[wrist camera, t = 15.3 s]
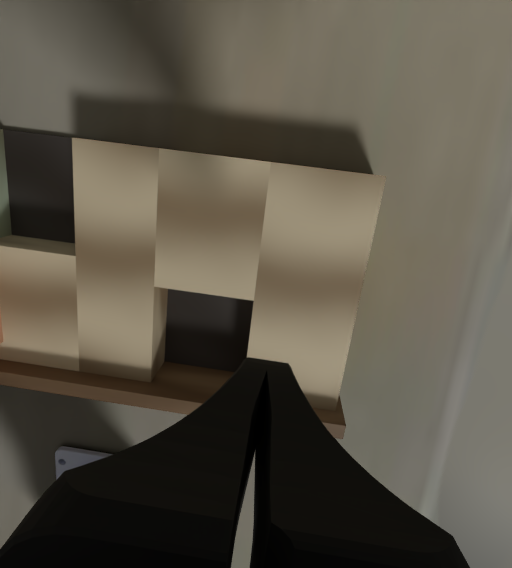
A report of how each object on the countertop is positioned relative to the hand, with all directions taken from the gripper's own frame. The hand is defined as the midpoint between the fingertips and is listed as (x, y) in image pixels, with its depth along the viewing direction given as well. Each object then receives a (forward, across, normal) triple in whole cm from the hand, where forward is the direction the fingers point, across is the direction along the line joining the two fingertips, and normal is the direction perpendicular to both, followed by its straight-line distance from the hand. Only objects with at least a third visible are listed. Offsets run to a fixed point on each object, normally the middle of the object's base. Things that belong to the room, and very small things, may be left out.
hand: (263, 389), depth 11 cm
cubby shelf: (+10, +8, 0) cm, 13 cm away
